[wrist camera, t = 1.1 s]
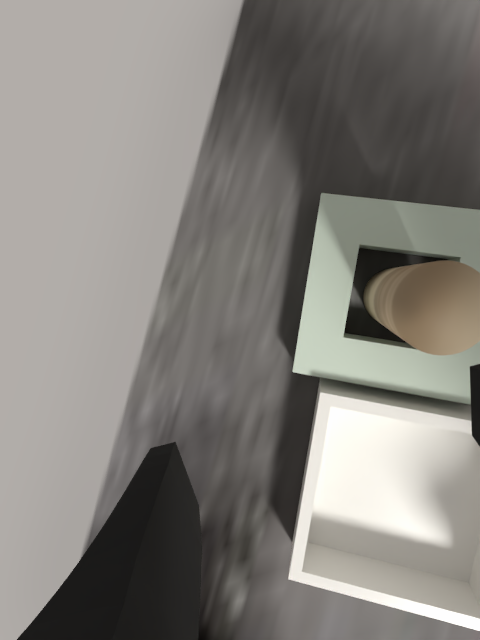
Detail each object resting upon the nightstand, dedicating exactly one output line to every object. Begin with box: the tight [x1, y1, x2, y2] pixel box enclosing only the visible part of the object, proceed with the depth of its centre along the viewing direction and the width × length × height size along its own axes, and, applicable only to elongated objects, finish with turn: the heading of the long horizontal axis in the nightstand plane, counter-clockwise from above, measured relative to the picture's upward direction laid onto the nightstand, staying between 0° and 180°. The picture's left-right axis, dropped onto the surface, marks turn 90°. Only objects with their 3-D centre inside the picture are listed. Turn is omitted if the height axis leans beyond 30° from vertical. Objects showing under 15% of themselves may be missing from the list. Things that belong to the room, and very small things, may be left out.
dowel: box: [363, 260, 480, 355], centre depth 17 cm, size 3×3×9 cm
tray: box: [288, 378, 480, 631], centre depth 21 cm, size 10×10×3 cm
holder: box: [292, 193, 480, 405], centre depth 21 cm, size 9×9×2 cm
